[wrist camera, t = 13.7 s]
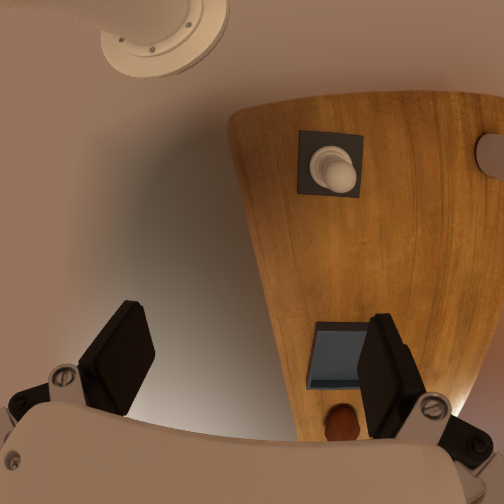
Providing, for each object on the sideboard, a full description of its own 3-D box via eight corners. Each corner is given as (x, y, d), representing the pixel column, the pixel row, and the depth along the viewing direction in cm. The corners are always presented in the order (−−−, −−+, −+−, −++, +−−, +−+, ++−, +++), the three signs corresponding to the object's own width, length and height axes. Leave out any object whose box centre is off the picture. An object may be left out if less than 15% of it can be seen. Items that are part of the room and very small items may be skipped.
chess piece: (311, 189, 36) (318, 208, 27) (307, 146, 33) (314, 152, 25) (352, 186, 35) (371, 205, 27) (350, 144, 33) (370, 150, 24)
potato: (360, 399, 52) (365, 430, 44) (356, 426, 56) (359, 454, 49) (324, 404, 53) (326, 435, 46) (324, 431, 57) (325, 458, 50)
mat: (299, 130, 33) (299, 130, 33) (362, 136, 32) (363, 136, 32) (297, 193, 37) (297, 194, 36) (358, 196, 36) (359, 198, 35)
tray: (316, 321, 44) (317, 330, 42) (382, 322, 43) (386, 331, 41) (306, 380, 50) (306, 389, 48) (363, 380, 49) (365, 388, 47)
